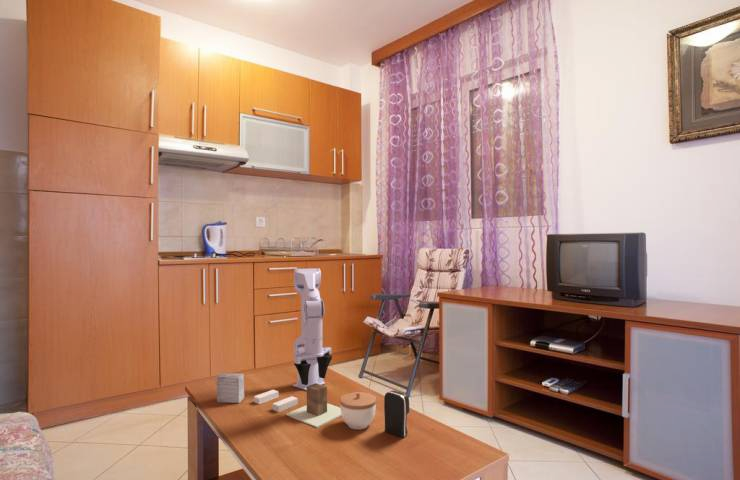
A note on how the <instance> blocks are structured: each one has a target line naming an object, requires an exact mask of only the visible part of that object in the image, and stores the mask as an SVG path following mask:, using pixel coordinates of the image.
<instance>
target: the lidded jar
mask: <svg viewBox="0 0 740 480" xmlns="http://www.w3.org/2000/svg"><path fill="white" fill-rule="evenodd" d="M339 403H340V408H341V415H342V416H341V418H342V420H343V422H344V423H345V424H346V425H347V427H348V428H350V429H352V430H364V429H367V427H369V425H370V424H371V423H372V421H373V420H374V418H375V415H376V410H377V409H376V407H377V405H376V404H377V398H376V396H375V395H373V394H371V393H370V392H363V391H354V392H353V391H352V392H349V393H346V394H343V395H342V396H341V397H340V398H339Z"/></svg>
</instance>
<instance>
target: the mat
mask: <svg viewBox="0 0 740 480" xmlns="http://www.w3.org/2000/svg"><path fill="white" fill-rule="evenodd" d="M285 416H287V417H289V418H292V419H293V420H294V419H295V420H296V421H298V422H301V423H303V424H306V425H310V426H312V427H315V428H316V429H318V428H320V427H322V426H324V425H326V424H328V423H330V422H332V421H334V420H336V419H338V418H340V417H342V415H341V408H340V407H339V406H337V405H334V404H331V403H328V402H327V412H326V413H324V414H322V415H320V416H316V415H313V414H310V413H308V412H307V404H306V405H304V406H301V407H299V408H296V409H293V410H291V411H290V412H287V413H286V414H285Z"/></svg>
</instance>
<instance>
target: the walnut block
mask: <svg viewBox="0 0 740 480" xmlns="http://www.w3.org/2000/svg"><path fill="white" fill-rule="evenodd" d="M327 403H328V386H327V385H324V384H323V385H320V384H317V383H315V384H313V385H310V386H307V390H306V405H307V412H308V413H310V414H313V415H316V416H320V415H322V414H324V413H326V412H327Z"/></svg>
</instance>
